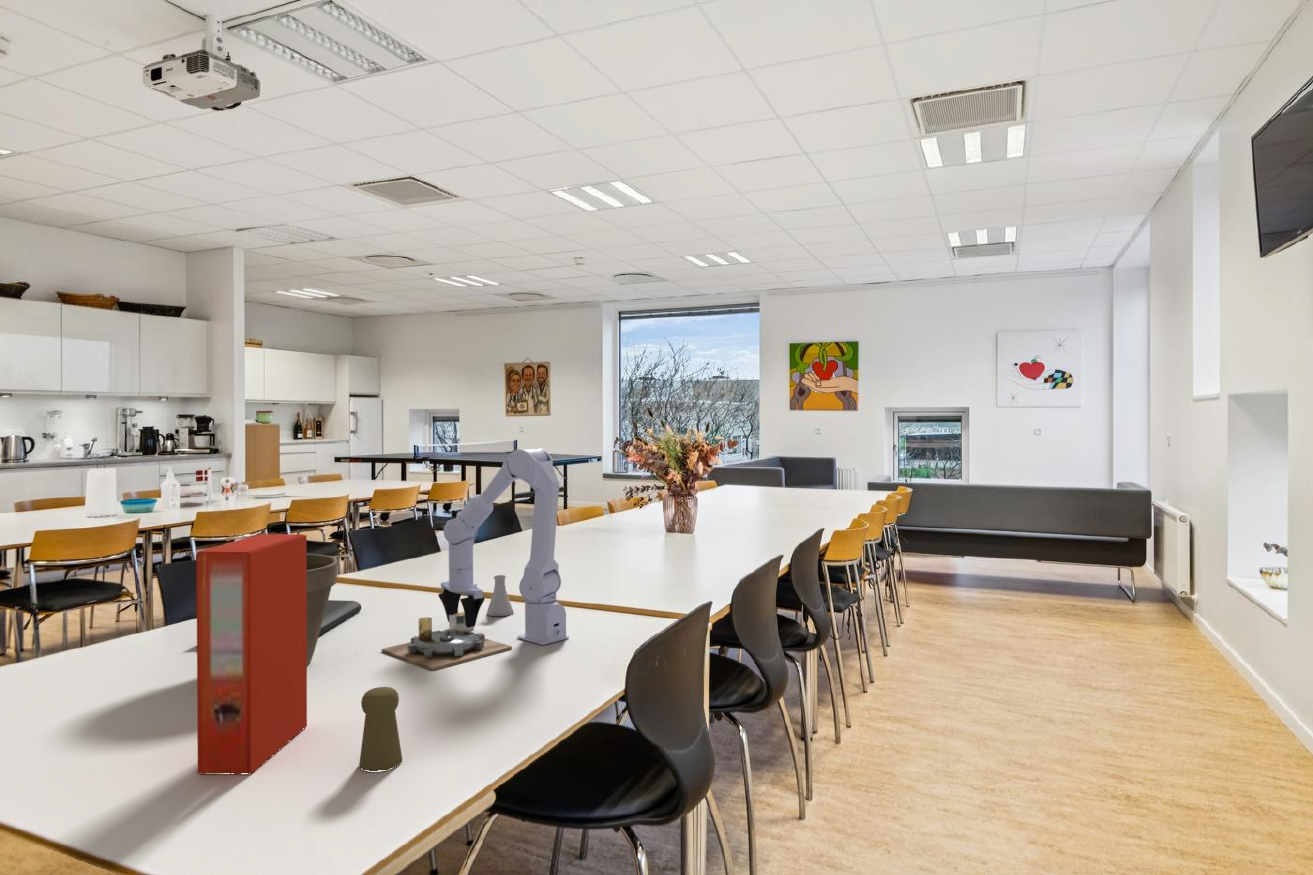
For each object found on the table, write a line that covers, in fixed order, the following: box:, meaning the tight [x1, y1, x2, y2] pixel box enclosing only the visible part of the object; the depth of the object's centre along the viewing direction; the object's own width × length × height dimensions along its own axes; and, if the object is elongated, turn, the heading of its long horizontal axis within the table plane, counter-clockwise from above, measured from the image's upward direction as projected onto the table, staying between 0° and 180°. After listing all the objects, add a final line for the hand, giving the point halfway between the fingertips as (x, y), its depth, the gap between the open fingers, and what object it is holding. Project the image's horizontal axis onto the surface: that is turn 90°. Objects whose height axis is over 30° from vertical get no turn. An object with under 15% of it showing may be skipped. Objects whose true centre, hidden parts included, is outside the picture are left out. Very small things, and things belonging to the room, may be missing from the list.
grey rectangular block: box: [448, 611, 475, 631], centre depth 189 cm, size 3×5×4 cm, turn 138°
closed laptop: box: [318, 599, 362, 638], centre depth 191 cm, size 33×4×24 cm
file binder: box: [195, 533, 308, 775], centre depth 120 cm, size 8×17×32 cm, turn 179°
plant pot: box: [306, 553, 339, 667], centre depth 161 cm, size 25×25×22 cm
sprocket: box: [408, 616, 486, 658], centre depth 172 cm, size 17×17×6 cm
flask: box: [486, 574, 514, 617], centre depth 205 cm, size 7×7×10 cm
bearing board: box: [381, 637, 513, 671], centre depth 172 cm, size 20×20×1 cm
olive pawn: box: [358, 686, 403, 771], centre depth 115 cm, size 6×6×11 cm
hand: (461, 624), depth 189 cm, fingers open, 7 cm apart
